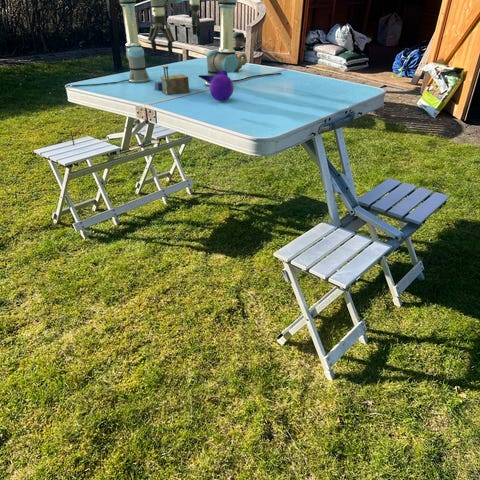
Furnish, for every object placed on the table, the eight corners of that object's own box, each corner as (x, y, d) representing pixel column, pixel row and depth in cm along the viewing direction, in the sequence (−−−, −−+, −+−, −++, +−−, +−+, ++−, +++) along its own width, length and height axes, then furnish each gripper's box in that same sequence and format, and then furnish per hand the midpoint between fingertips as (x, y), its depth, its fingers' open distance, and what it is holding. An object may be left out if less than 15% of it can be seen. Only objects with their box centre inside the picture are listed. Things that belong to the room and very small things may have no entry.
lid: (165, 81, 293) (163, 67, 289) (160, 78, 302) (159, 64, 297) (188, 78, 299) (187, 65, 294) (182, 75, 307) (181, 62, 303)
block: (158, 90, 310) (157, 83, 307) (155, 89, 313) (154, 82, 310) (164, 89, 312) (164, 82, 310) (161, 88, 315) (160, 81, 313)
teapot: (227, 73, 359) (226, 53, 351) (220, 71, 367) (219, 51, 360) (250, 70, 368) (249, 51, 360) (242, 68, 376) (242, 49, 369)
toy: (220, 92, 299) (233, 106, 278) (195, 88, 292) (206, 102, 271) (226, 68, 291) (240, 80, 270) (200, 63, 284) (212, 75, 263)
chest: (167, 94, 298) (166, 80, 293) (162, 91, 307) (161, 78, 302) (189, 92, 303) (188, 78, 299) (184, 89, 312) (183, 75, 307)
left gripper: (203, 5, 329) (204, 36, 339) (195, 3, 349) (197, 33, 360) (193, 5, 327) (195, 37, 338) (186, 4, 347) (188, 34, 358)
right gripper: (139, 15, 270) (144, 53, 281) (169, 16, 257) (173, 56, 268) (148, 14, 275) (152, 51, 286) (178, 15, 263) (181, 54, 273)
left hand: (196, 35), depth 349 cm, fingers open, 13 cm apart
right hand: (162, 53), depth 277 cm, fingers open, 13 cm apart
